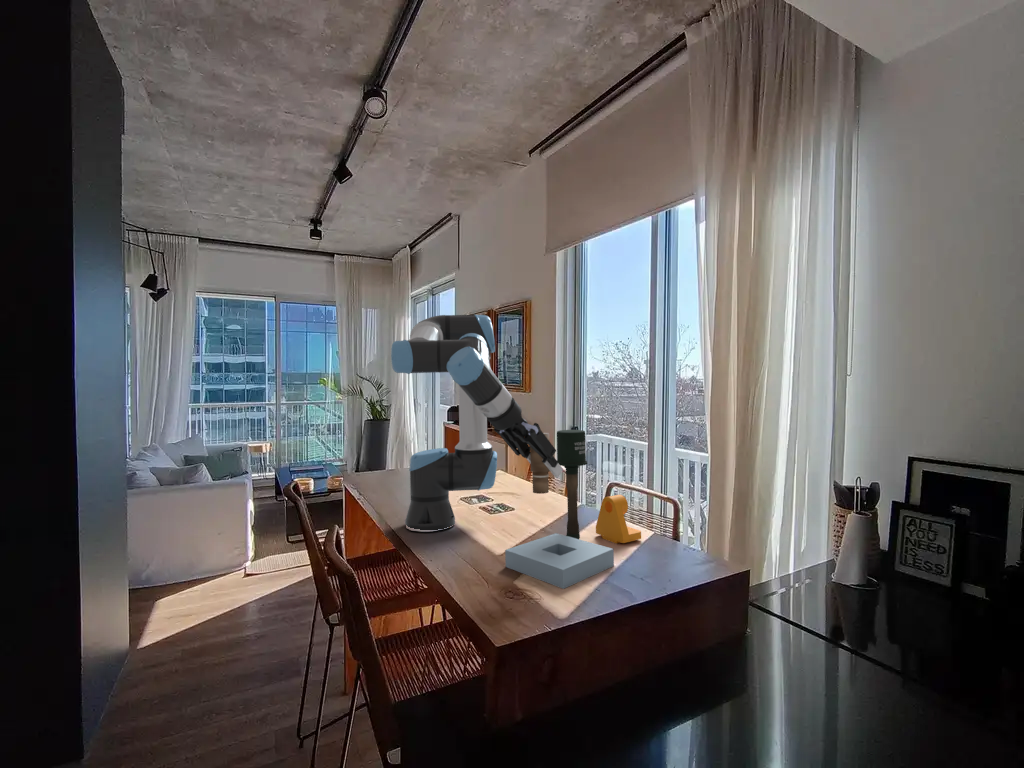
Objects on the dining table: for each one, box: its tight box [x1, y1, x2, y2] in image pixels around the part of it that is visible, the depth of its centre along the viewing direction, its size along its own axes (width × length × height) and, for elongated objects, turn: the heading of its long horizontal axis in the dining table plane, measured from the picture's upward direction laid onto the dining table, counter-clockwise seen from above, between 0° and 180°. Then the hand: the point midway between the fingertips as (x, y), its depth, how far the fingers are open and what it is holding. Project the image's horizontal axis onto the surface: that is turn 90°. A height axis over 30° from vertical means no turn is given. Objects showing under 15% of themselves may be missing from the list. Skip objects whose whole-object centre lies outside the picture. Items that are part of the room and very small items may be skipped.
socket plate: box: [504, 532, 615, 590], centre depth 116 cm, size 18×18×4 cm
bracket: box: [595, 494, 642, 545], centre depth 136 cm, size 11×7×12 cm, turn 31°
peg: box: [530, 432, 551, 494], centre depth 119 cm, size 5×5×14 cm
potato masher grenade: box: [556, 429, 588, 540], centre depth 135 cm, size 8×9×30 cm
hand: (551, 472), depth 121 cm, fingers closed on peg, 4 cm apart
